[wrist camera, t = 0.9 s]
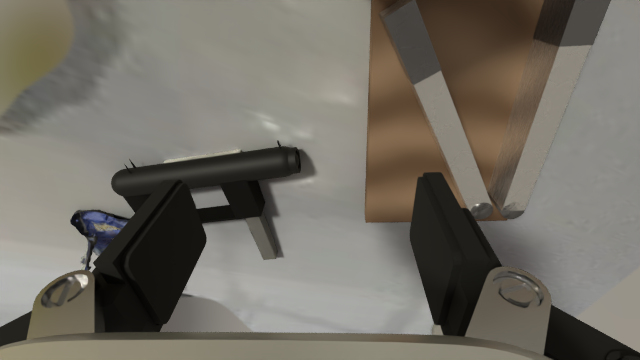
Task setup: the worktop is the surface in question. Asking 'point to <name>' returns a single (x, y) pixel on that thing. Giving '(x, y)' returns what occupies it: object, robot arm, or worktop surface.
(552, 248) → the worktop surface
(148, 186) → the black submachine gun
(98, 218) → the snack package
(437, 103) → the tongs arm
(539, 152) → the arm
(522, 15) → the cutting board
